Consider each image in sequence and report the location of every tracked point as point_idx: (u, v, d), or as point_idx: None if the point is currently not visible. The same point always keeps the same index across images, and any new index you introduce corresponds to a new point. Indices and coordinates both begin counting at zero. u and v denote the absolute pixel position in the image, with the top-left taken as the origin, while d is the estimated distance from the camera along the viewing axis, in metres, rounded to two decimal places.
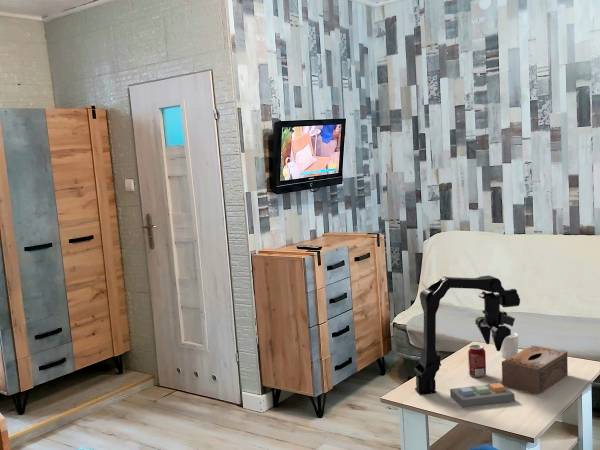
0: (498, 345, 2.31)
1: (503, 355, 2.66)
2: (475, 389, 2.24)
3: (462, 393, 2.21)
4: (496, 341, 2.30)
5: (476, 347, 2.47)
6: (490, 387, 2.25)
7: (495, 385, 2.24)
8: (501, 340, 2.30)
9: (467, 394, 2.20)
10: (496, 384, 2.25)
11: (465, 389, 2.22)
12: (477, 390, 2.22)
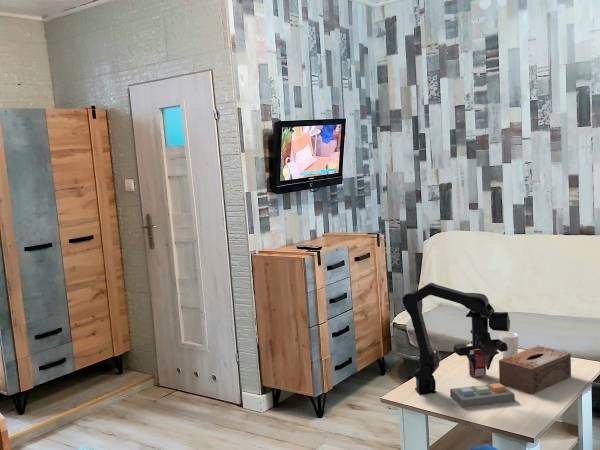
0: (471, 364, 2.22)
1: (503, 355, 2.66)
2: (475, 389, 2.24)
3: (462, 393, 2.21)
4: (468, 358, 2.23)
5: None
6: (490, 387, 2.25)
7: (495, 385, 2.24)
8: (471, 360, 2.21)
9: (467, 394, 2.20)
10: (496, 384, 2.25)
11: (465, 389, 2.22)
12: (477, 390, 2.22)
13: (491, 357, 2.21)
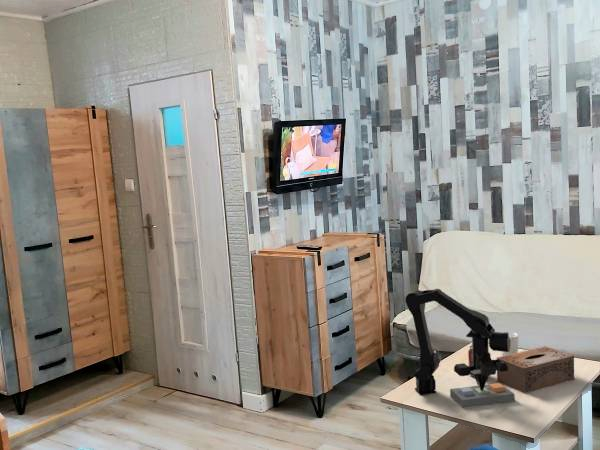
0: (477, 383, 2.23)
1: (503, 355, 2.66)
2: None
3: (462, 393, 2.21)
4: (475, 377, 2.24)
5: None
6: (490, 387, 2.25)
7: (495, 385, 2.24)
8: (478, 379, 2.22)
9: (467, 394, 2.20)
10: (496, 384, 2.25)
11: (465, 389, 2.22)
12: None
13: (485, 378, 2.21)
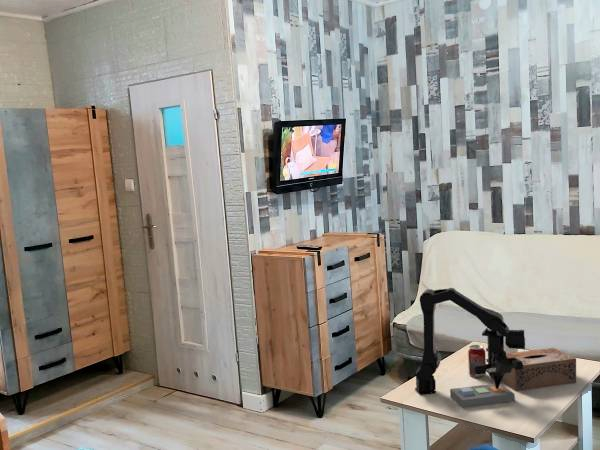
0: (493, 381, 2.24)
1: None
2: None
3: (462, 393, 2.21)
4: (490, 376, 2.25)
5: (476, 347, 2.47)
6: None
7: (495, 388, 2.24)
8: (493, 377, 2.23)
9: (467, 394, 2.20)
10: None
11: (465, 389, 2.22)
12: None
13: (501, 376, 2.22)
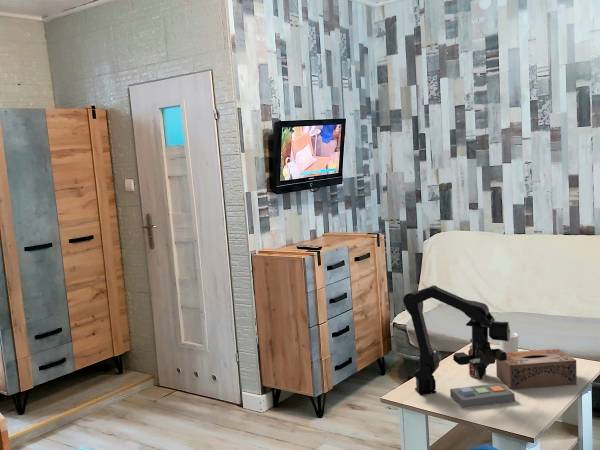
0: (476, 372, 2.23)
1: None
2: None
3: (462, 393, 2.21)
4: (474, 366, 2.24)
5: None
6: None
7: (495, 388, 2.24)
8: (477, 368, 2.22)
9: (467, 394, 2.20)
10: (496, 386, 2.26)
11: (465, 389, 2.22)
12: None
13: (484, 367, 2.21)
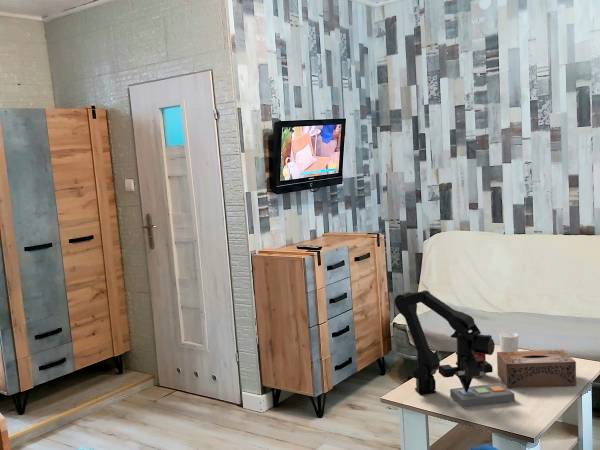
0: (462, 384, 2.22)
1: None
2: None
3: (462, 395, 2.21)
4: (459, 379, 2.23)
5: None
6: None
7: (495, 388, 2.24)
8: None
9: None
10: (496, 386, 2.26)
11: None
12: None
13: (470, 379, 2.21)
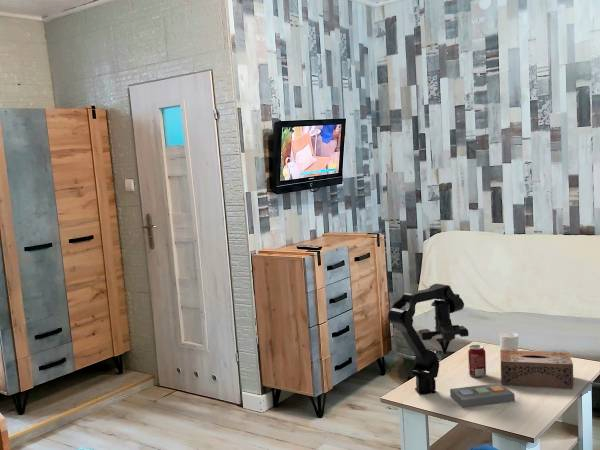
0: (440, 347, 2.40)
1: None
2: None
3: None
4: (438, 342, 2.41)
5: (476, 347, 2.47)
6: None
7: (495, 388, 2.24)
8: (440, 343, 2.39)
9: None
10: (496, 386, 2.26)
11: (465, 392, 2.22)
12: None
13: (447, 342, 2.38)
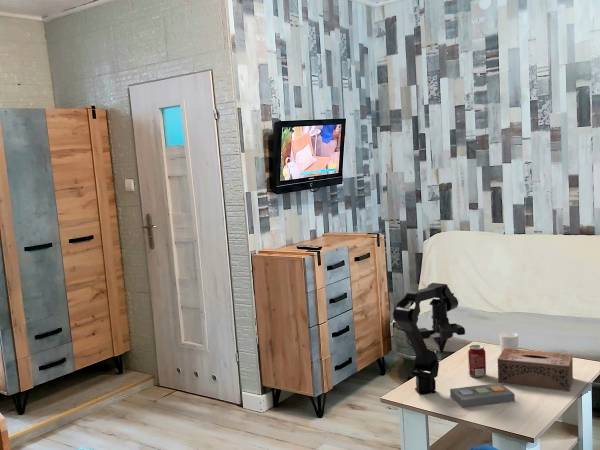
0: (437, 346, 2.42)
1: None
2: None
3: None
4: (435, 341, 2.43)
5: (476, 347, 2.47)
6: None
7: (495, 388, 2.24)
8: None
9: None
10: (496, 386, 2.26)
11: (465, 392, 2.22)
12: None
13: (444, 341, 2.40)
